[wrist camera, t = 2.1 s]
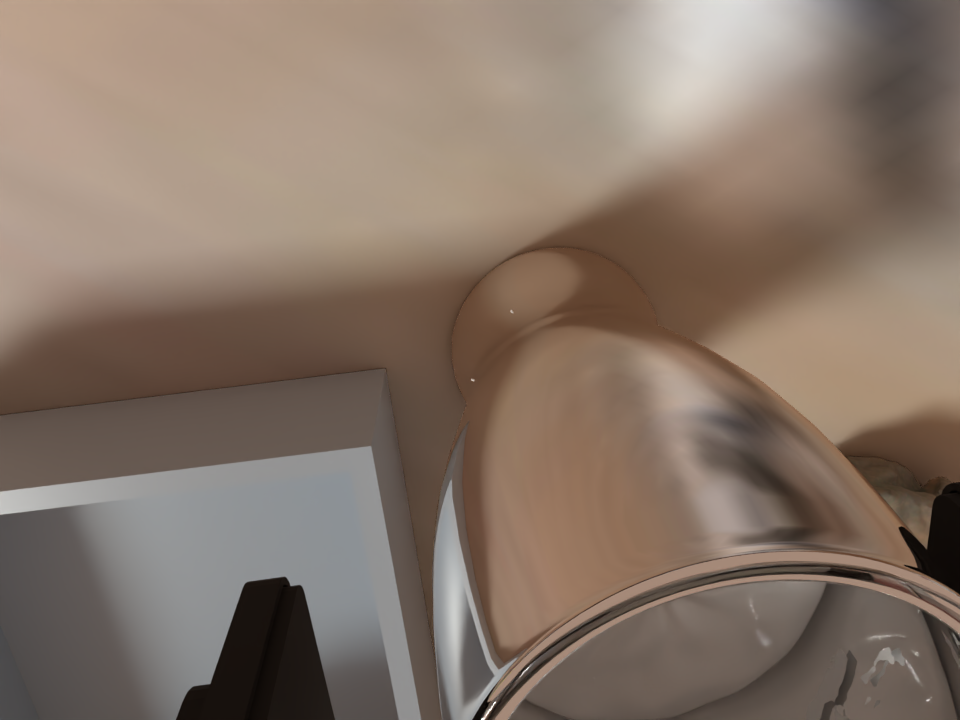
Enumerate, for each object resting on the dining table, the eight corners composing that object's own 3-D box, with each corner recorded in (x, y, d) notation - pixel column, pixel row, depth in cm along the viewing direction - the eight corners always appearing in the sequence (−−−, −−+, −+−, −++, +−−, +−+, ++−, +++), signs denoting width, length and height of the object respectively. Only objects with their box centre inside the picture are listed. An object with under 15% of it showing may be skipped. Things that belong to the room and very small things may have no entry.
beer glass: (695, 247, 21) (1177, 571, 7) (642, 463, 24) (931, 1018, 10) (452, 214, 21) (477, 501, 7) (422, 440, 23) (395, 998, 9)
